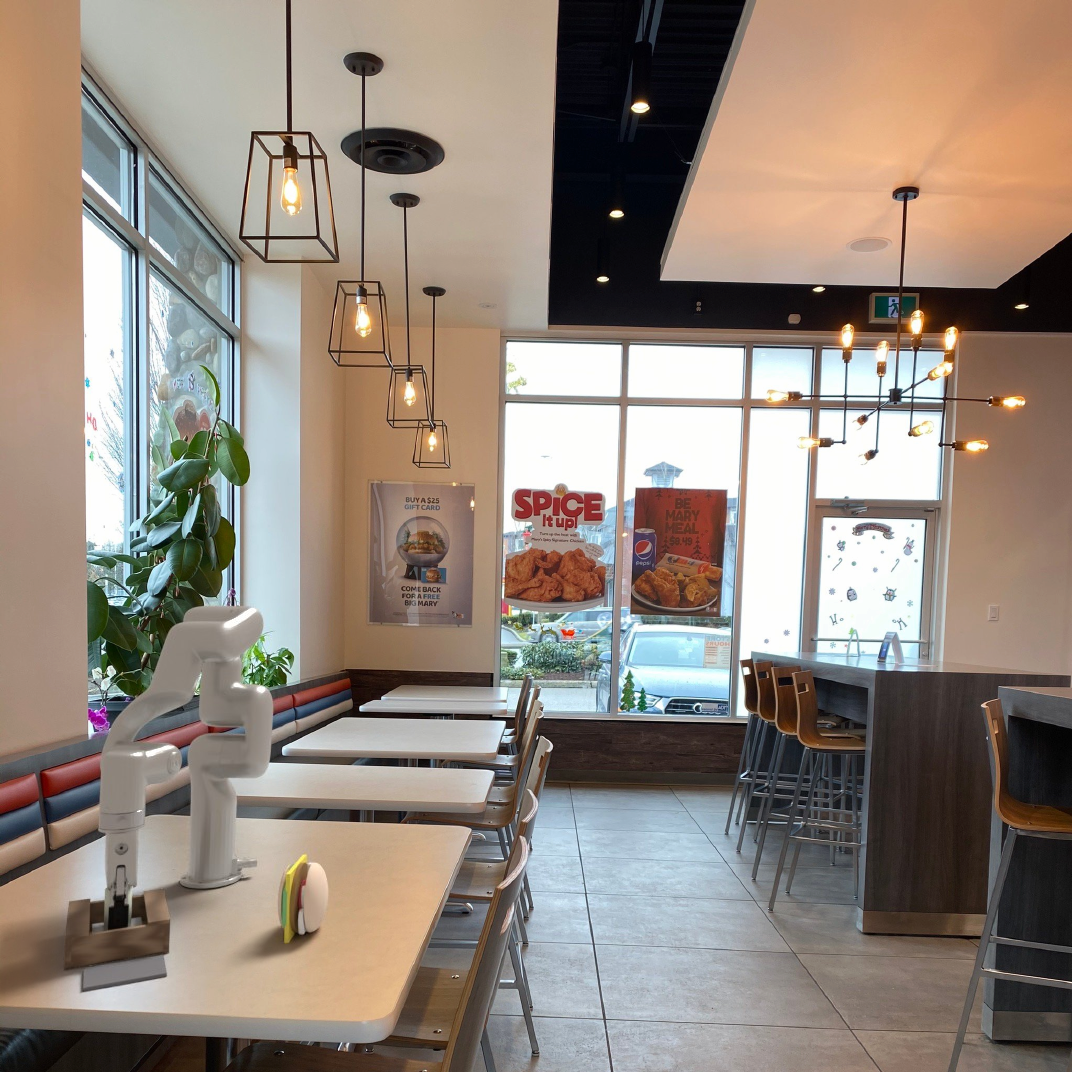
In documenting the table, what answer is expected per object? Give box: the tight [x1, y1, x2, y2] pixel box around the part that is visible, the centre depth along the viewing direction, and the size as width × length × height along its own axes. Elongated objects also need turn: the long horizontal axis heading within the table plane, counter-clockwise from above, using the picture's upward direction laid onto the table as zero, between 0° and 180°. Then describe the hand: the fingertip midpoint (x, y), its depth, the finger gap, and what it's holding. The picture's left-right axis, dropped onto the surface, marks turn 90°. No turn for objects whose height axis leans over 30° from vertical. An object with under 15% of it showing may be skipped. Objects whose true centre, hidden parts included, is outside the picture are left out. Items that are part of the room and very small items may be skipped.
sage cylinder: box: [104, 883, 133, 931], centre depth 151 cm, size 4×4×7 cm
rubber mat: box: [82, 954, 168, 992], centre depth 138 cm, size 12×8×1 cm, turn 117°
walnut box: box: [63, 888, 171, 971], centre depth 151 cm, size 16×18×6 cm
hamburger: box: [277, 854, 329, 944], centre depth 157 cm, size 12×8×12 cm
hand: (117, 922), depth 151 cm, fingers open, 4 cm apart
